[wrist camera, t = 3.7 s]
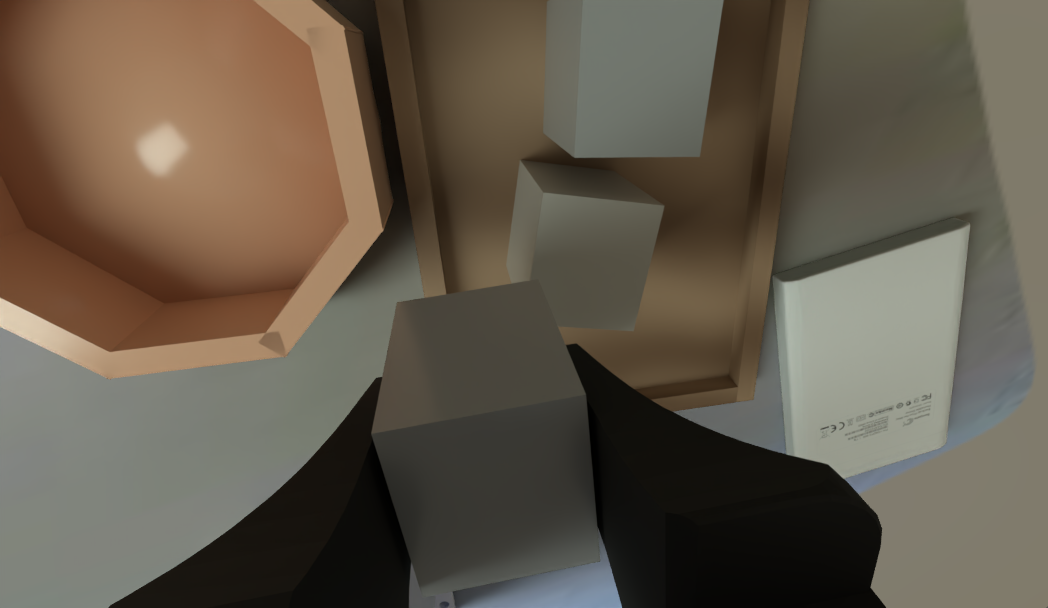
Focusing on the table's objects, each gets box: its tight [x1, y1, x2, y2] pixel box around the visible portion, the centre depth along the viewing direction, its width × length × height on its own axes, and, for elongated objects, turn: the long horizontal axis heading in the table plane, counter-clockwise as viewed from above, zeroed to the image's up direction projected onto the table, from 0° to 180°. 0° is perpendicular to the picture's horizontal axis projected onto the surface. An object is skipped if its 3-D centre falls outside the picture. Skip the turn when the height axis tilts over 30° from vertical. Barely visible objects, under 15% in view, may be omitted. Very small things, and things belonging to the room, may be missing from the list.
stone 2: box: [543, 0, 724, 158], centre depth 16 cm, size 4×4×5 cm
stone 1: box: [371, 279, 600, 597], centre depth 12 cm, size 4×4×5 cm
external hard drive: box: [772, 217, 970, 479], centre depth 25 cm, size 2×8×12 cm
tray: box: [375, 0, 810, 411], centre depth 20 cm, size 18×14×1 cm
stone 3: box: [506, 160, 664, 331], centre depth 18 cm, size 4×4×5 cm
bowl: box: [0, 0, 394, 379], centre depth 16 cm, size 13×13×4 cm
